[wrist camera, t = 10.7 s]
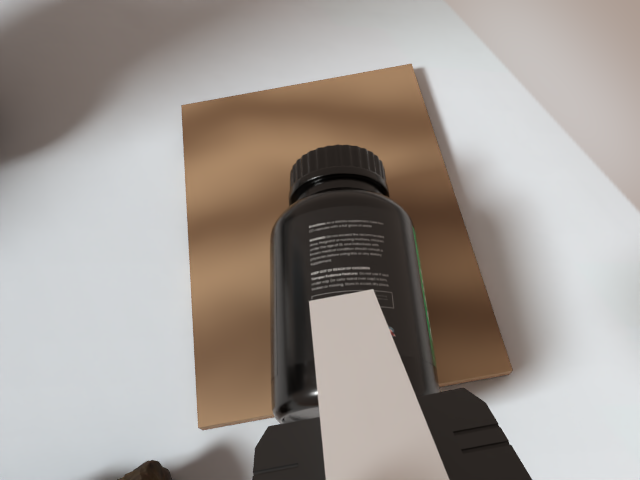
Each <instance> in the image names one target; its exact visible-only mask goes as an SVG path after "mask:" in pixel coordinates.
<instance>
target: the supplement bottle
mask: <svg viewBox="0 0 640 480" xmlns="http://www.w3.org/2000/svg"><path fill="white" fill-rule="evenodd" d="M288 199H289V207H288V208H287V209H286V210H284V212H283V213H282V214H281V215H280V216H279V218H278V219H277V220H276V222H275V224H274V226H273V228H272V231H271V236H270V347H271V404H272V411H273V415H274V416H275V418H276V419H277V421H278V422H279V423H280V424H284V423H290V422H295V421H300V420H306V419H311V418H316V417H320V413H319V402H318V392H317V381H316V371H315V360H314V350H313V339H312V329H311V318H310V308H309V301H312V300H317V299H323V298H328V297H334V296H339V295H344V294H350V293H355V292H360V291H366V290H371V289H373V290H374V293H375V295H376V298H377V300H378V303H379V305H380V308H381V310H382V313H383V315H384V318H385V320H386V323H387V325H388V328H389V330H390V333H391V335H392V338H393V340H394V343H395V345H396V348H397V350H398V353H399V355H400V358H401V360H402V363H403V365H404V368H405V370H406V373H407V375H408V378H409V380H410V383H411V385H412V388H413V390H414V393H415V395H416V397H417V396H423V395H428V394H433V393H439V392H440V388H439V381H438V374H437V366H436V360H435V353H434V347H433V341H432V334H431V328H430V322H429V315H428V309H427V302H426V296H425V290H424V283H423V277H422V270H421V264H420V258H419V251H418V245H417V239H416V233H415V229H414V225H413V222H412V220H411V217H410V216H409V215H408V213H407V212H406V211H405V210H404V208H403V207H402V206H401V205H399V204H398V203H397V202H396V201H394V200H392V199H391V198H390V196H389V189H388V185H387V183H386V175H385V169H384V166H383V163H382V161H381V160H379V158H378V156H377V155H374V153H373V152H371V151H368V150H367V149H366V148H360V147H358V146H351V145H348V144H347V145H339V144H337V145H333V146H330V145H328V146H325V147H320V148H317V149H316V150H312V151H309V152H308V153H307V154H304V155H302V157H301V158H300V159H298V160H297V161H296V163H295V164H294V165H293V167H292V170H291V171H290V191H289V196H288Z"/></svg>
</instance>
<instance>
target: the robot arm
mask: <svg viewBox="0 0 640 480" xmlns="http://www.w3.org/2000/svg"><path fill="white" fill-rule="evenodd" d="M309 308H310V318H311V329H312V339H313V350H314V360H315V371H316V381H317V392H318V402H319V413H320V417H316V418H311V419H306V420H300V421H295V422H290V423H284V424H279V425H274V426H268V428H267V430H266V431H265V433H264V434H263V436H262V438H261V439H260V441H259V443H258V444H257V446H256V448H255V455H254V467H253V473H254V476H253V479H252V480H532V479H531V477H530V475H529V474H528V472H527V470H526V469H525V467H524V465H523V464H522V462H521V461H520V459H519V457H518V456H517V454H516V452H515V451H514V449H513V447H512V446H511V445H509V441H508V439H507V437H506V436H505V434H504V432H503V431H502V429H501V427H499V426H498V422H497V421H496V419H495V418H494V416H493V414H492V413H491V411H490V409H489V408H488V406H487V404H486V403H485V402H484V401H482V400H481V399H479V398H478V397H476V396H475V395H474V394H472V393H471V392H469V391H468V390H466V389H465V388H460V389H455V390H449V391H444V392H439V393H433V394H428V395H423V396H417V397H416V395H415V393H414V390H413V388H412V385H411V383H410V380H409V378H408V375H407V373H406V370H405V368H404V365H403V363H402V360H401V358H400V355H399V353H398V350H397V348H396V345H395V343H394V340H393V338H392V335H391V333H390V330H389V328H388V325H387V323H386V320H385V318H384V315H383V313H382V310H381V308H380V305H379V303H378V300H377V298H376V295H375V293H374V290H373V289H371V290H366V291H360V292H355V293H350V294H344V295H339V296H334V297H328V298H323V299H317V300H312V301H309Z"/></svg>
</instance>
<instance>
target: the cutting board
mask: <svg viewBox="0 0 640 480" xmlns="http://www.w3.org/2000/svg"><path fill="white" fill-rule="evenodd" d="M181 107H182V126H183V145H184V164H185V184H186V203H187V222H188V241H189V260H190V279H191V298H192V318H193V337H194V356H195V375H196V394H197V413H198V428H200V429H202V430H207V429H212V428H218V427H223V426H229V425H234V424H240V423H245V422H251V421H256V420H262V419H267V418H273V417H275V416H274V415H273V411H272V404H271V347H270V236H271V231H272V228H273V226H274V224H275V222H276V220H277V219H278V218H279V216H280V215H281V214H282V213H283V212H284V210H286V209H287V208H288V207H289V199H288V196H289V191H290V171H291V170H292V167H293V165H294V164H295V163H296V161H297V160H298V159H300V158H301V157H302V155H304V154H307V153H308V152H309V151H312V150H316V149H317V148H320V147H325V146H328V145H330V146H333V145H337V144H339V145H347V144H348V145H351V146H358V147H360V148H366V149H367V150H368V151H371V152H373V153H374V155H377V156H378V158H379V160H381V161H382V163H383V166H384V169H385V175H386V183H387V185H388V189H389V196H390V198H391V199H392V200H394V201H396V202H397V203H398V204H399V205H401V206H402V207H403V208H404V210H405V211H406V212H407V213H408V215H409V216H410V217H411V220H412V222H413V225H414V229H415V233H416V239H417V245H418V251H419V258H420V264H421V270H422V277H423V283H424V290H425V296H426V302H427V309H428V315H429V322H430V328H431V334H432V341H433V347H434V353H435V360H436V366H437V374H438V381H439V387H443V386H449V385H454V384H459V383H465V382H470V381H476V380H481V379H487V378H492V377H498V376H503V375H509V374H510V373H511V372H512V371H513V370H512V367H511V364H510V361H509V358H508V355H507V352H506V348H505V345H504V342H503V339H502V336H501V333H500V330H499V327H498V324H497V321H496V318H495V315H494V312H493V309H492V306H491V303H490V300H489V297H488V294H487V291H486V288H485V285H484V282H483V279H482V276H481V273H480V270H479V267H478V264H477V261H476V258H475V255H474V252H473V249H472V246H471V243H470V240H469V236H468V233H467V230H466V227H465V224H464V221H463V218H462V215H461V212H460V209H459V206H458V203H457V200H456V197H455V194H454V191H453V188H452V185H451V182H450V179H449V176H448V173H447V170H446V167H445V164H444V161H443V158H442V155H441V152H440V149H439V146H438V143H437V140H436V137H435V134H434V131H433V127H432V124H431V121H430V118H429V115H428V112H427V109H426V106H425V103H424V100H423V97H422V94H421V91H420V88H419V85H418V82H417V79H416V76H415V73H414V70H413V67H412V64H407V65H402V66H396V67H391V68H385V69H380V70H374V71H369V72H363V73H358V74H352V75H346V76H341V77H335V78H330V79H324V80H319V81H313V82H308V83H302V84H297V85H291V86H286V87H280V88H275V89H269V90H264V91H258V92H253V93H247V94H242V95H236V96H231V97H225V98H220V99H214V100H209V101H203V102H197V103H192V104H186V105H181Z"/></svg>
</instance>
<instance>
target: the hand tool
mask: <svg viewBox="0 0 640 480" xmlns="http://www.w3.org/2000/svg"><path fill="white" fill-rule="evenodd" d="M118 480H172V478H171V475H170V472H169V471H168V469H166V468H164V467H162V466H161V464H160V463H159V462H158V461H154V460H151V461H147V462H145V463H143V464H142V465H141V466H139V467H138V468H136V469H135V470H134V471H132V472H130V473H127V474H125V476H124V477H123V478H120V479H118Z"/></svg>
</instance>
